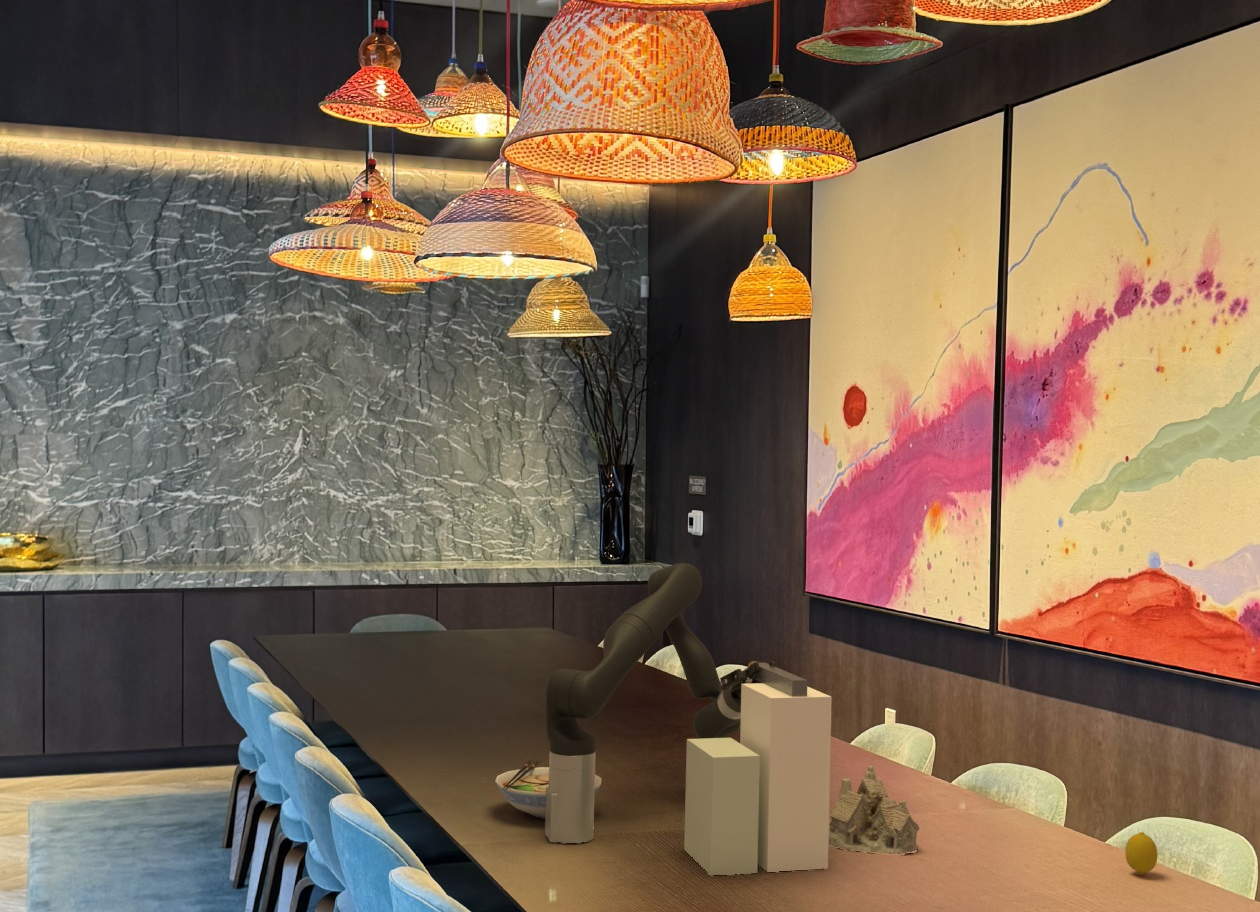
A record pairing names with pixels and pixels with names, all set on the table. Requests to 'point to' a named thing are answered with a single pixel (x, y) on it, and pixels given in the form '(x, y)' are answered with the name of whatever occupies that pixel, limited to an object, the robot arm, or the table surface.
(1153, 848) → the lemon
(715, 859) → the beige rectangular block
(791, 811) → the white stand
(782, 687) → the rod
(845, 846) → the ceramic cottage
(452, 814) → the table surface
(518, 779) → the ramen bowl
